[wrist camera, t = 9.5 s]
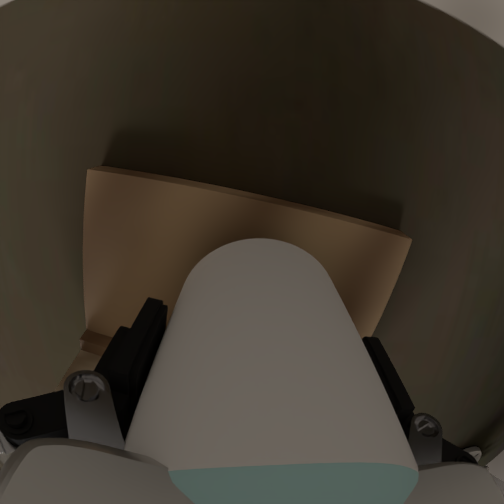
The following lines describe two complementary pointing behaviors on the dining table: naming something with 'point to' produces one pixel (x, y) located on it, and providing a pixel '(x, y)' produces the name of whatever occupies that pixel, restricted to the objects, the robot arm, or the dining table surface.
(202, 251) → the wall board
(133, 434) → the can
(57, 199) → the dining table surface
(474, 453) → the robot arm
